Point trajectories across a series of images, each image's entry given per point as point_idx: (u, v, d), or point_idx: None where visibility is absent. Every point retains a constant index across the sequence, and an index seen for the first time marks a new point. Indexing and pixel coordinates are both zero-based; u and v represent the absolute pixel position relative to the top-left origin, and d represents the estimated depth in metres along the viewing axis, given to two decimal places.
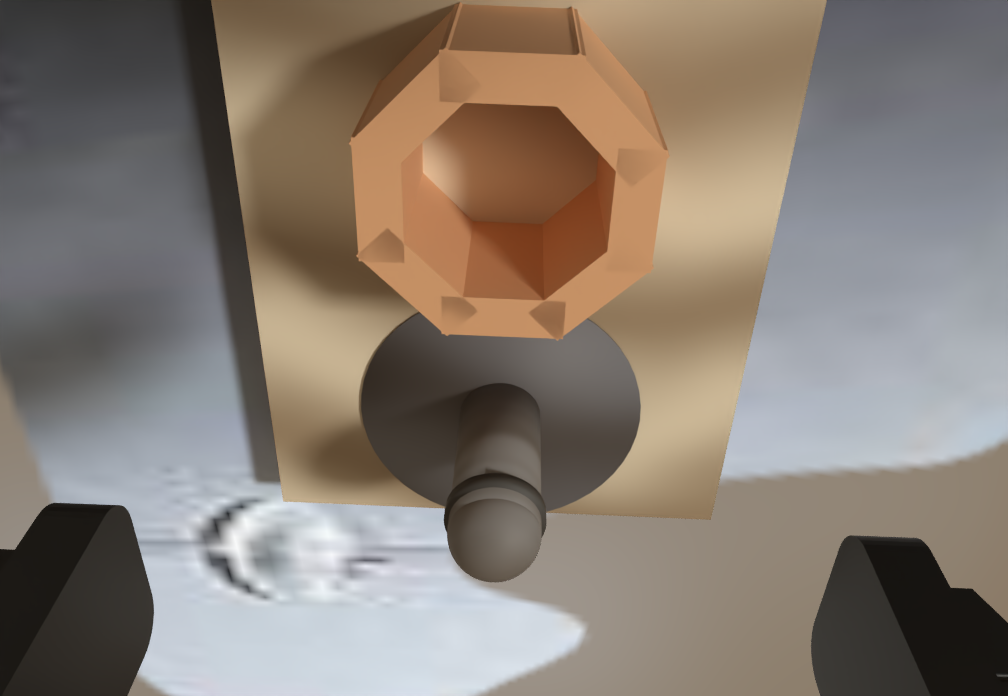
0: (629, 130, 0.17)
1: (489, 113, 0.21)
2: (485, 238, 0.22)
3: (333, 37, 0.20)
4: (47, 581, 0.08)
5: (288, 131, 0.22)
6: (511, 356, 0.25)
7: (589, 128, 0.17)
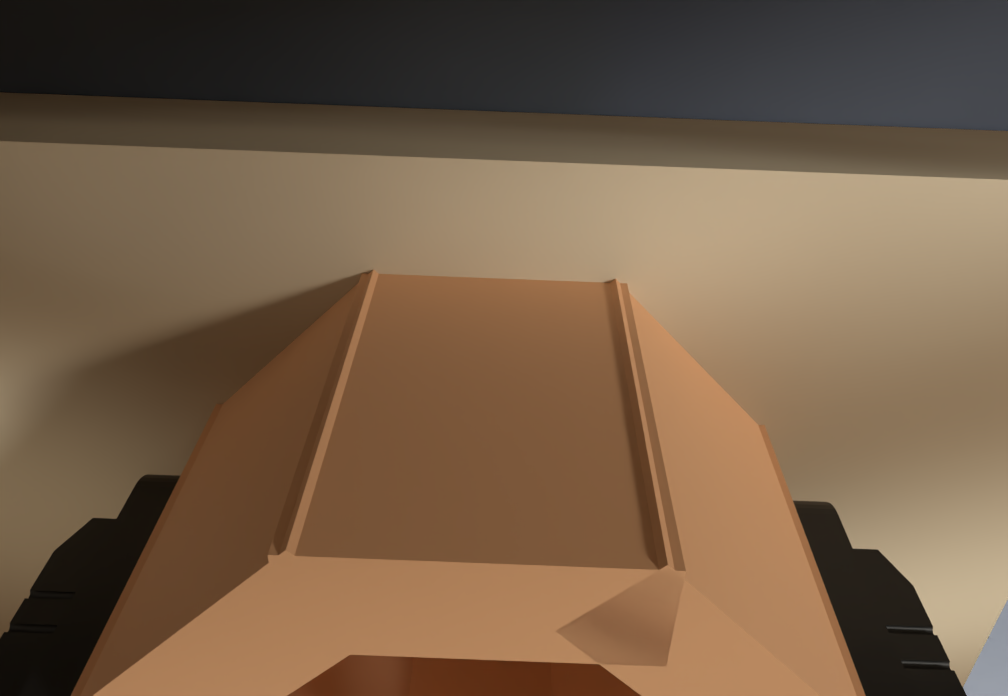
0: None
1: None
2: (439, 681, 0.11)
3: (109, 331, 0.10)
4: None
5: (46, 483, 0.11)
6: None
7: None
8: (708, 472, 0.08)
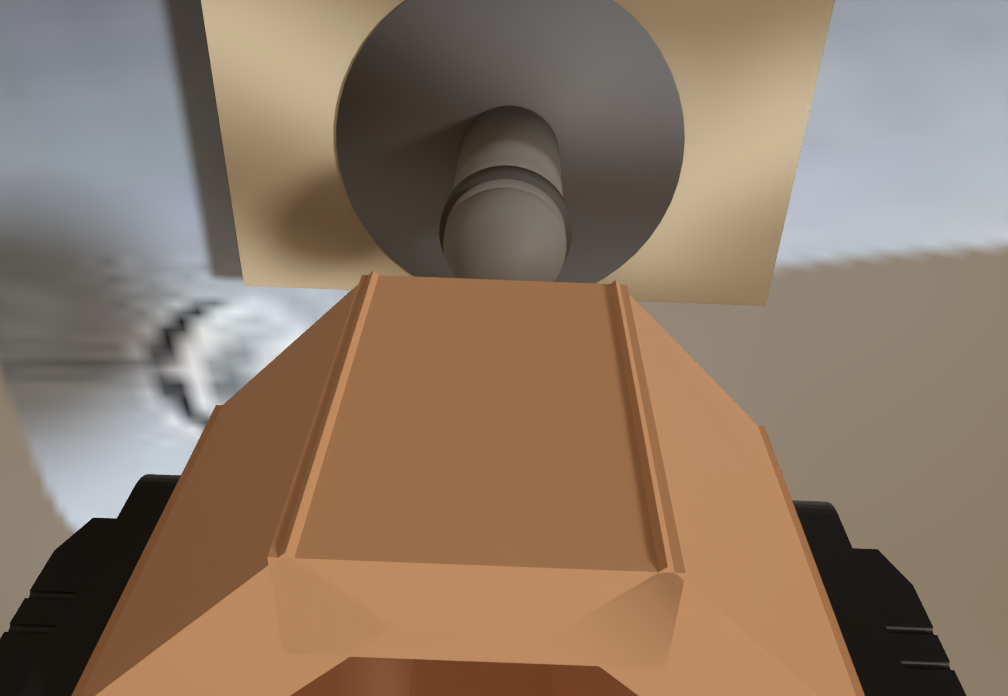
0: None
1: None
2: (439, 682, 0.11)
3: None
4: None
5: None
6: (524, 64, 0.20)
7: None
8: (708, 474, 0.08)
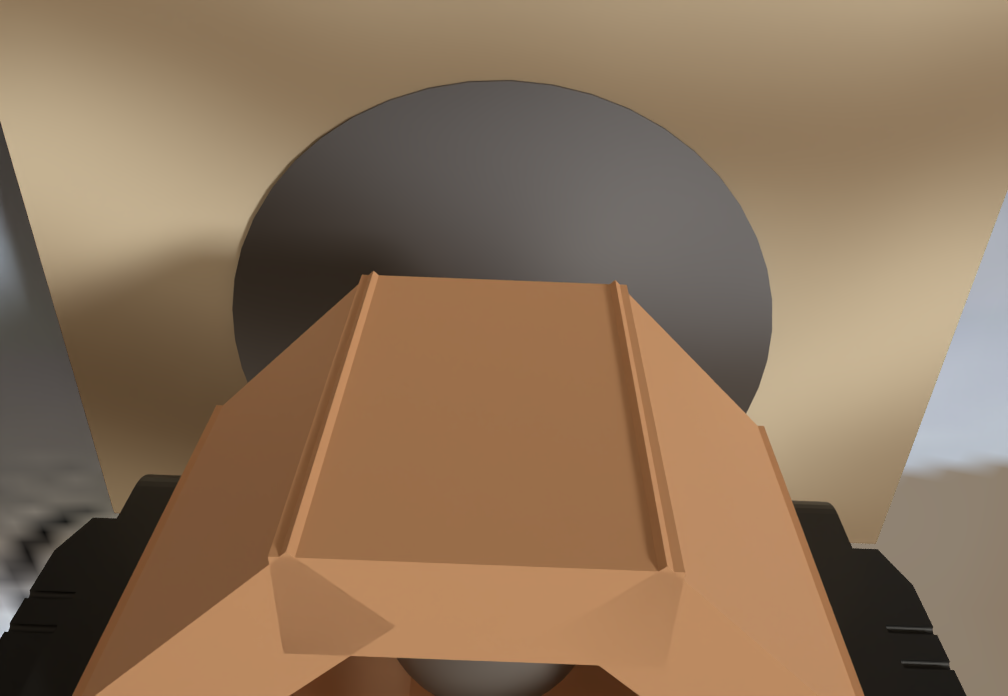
0: None
1: None
2: None
3: None
4: None
5: None
6: (523, 225, 0.13)
7: None
8: (707, 473, 0.08)
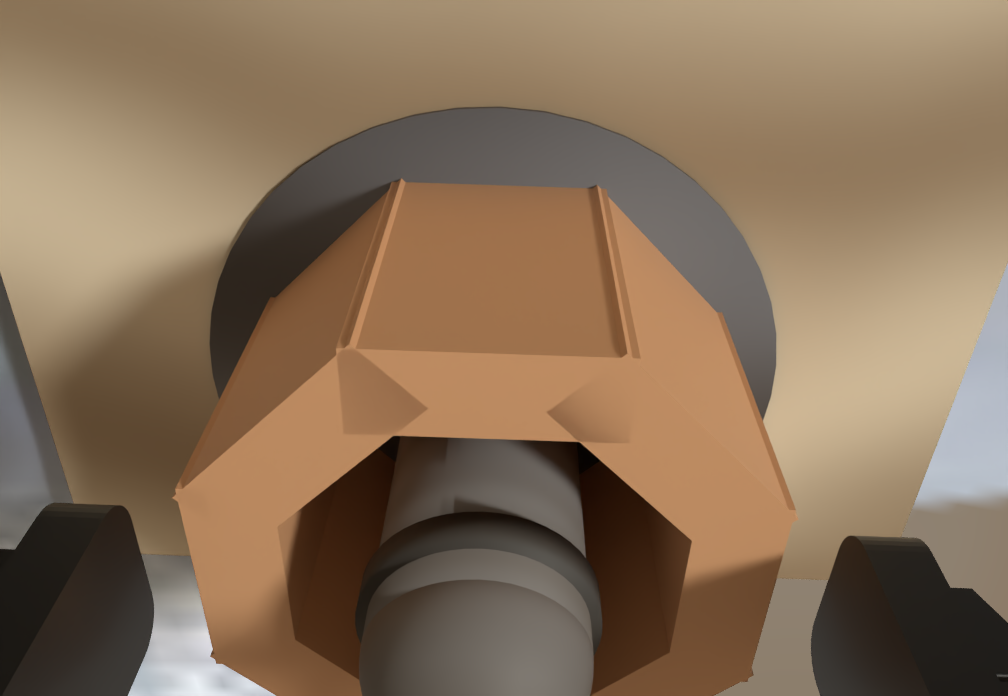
0: (722, 480, 0.09)
1: None
2: None
3: None
4: (47, 581, 0.08)
5: None
6: None
7: (643, 477, 0.09)
8: (667, 321, 0.10)
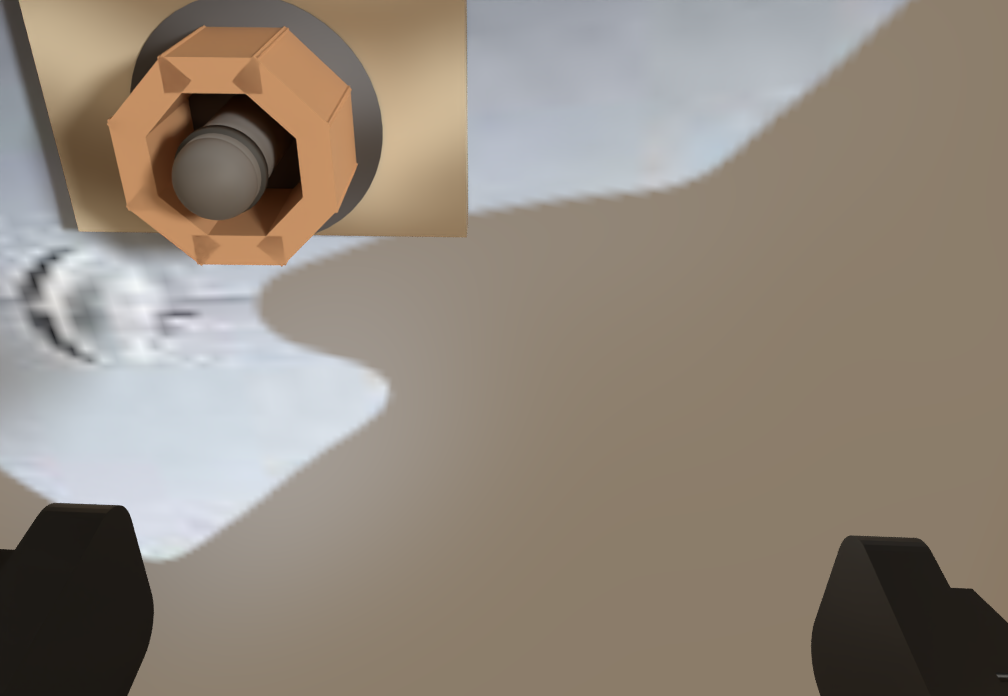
0: (298, 109, 0.25)
1: None
2: None
3: None
4: (47, 581, 0.08)
5: None
6: None
7: (270, 108, 0.25)
8: (294, 65, 0.26)
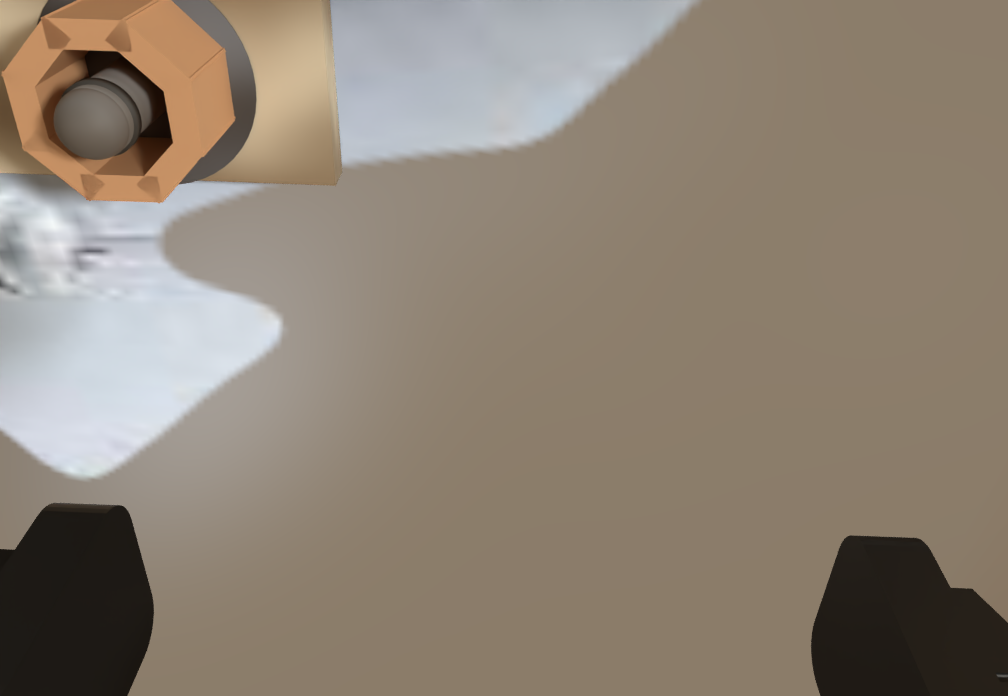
0: (163, 65, 0.29)
1: None
2: (135, 146, 0.34)
3: None
4: (47, 581, 0.08)
5: None
6: None
7: (140, 64, 0.29)
8: (165, 28, 0.30)
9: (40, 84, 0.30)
